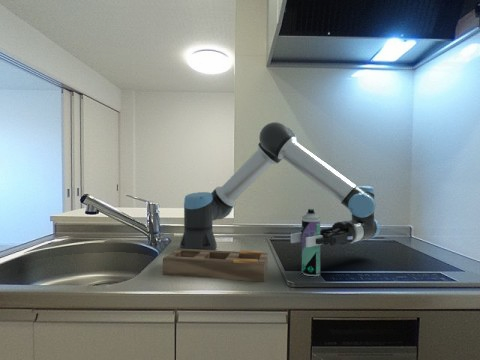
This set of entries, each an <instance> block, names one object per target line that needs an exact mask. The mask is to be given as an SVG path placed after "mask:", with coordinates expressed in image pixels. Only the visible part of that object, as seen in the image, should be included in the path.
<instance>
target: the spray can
mask: <svg viewBox="0 0 480 360" xmlns="http://www.w3.org/2000/svg"><path fill="white" fill-rule="evenodd" d="M320 218H321V216H319V215H318V214H317V213H316V212H315V209H314V208H308V209H307V212H306V213H305V214H304V215H303V216H302V219H301V230H302V242H301V274H302V273H303V274H304V275H307V276H318V277H320V276H321V245H317V246H312V247H306V237H312V236H318V235H320V228H321V219H320ZM303 274H302V275H303ZM304 275H303V276H304ZM319 275H320V276H319ZM307 276H306V277H307Z"/></svg>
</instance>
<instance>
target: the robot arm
mask: <svg viewBox="0 0 480 360" xmlns="http://www.w3.org/2000/svg"><path fill="white" fill-rule="evenodd" d="M258 138H259V142H258V143H257V149H256V151H255V152H254V153H253V154H252V155H251V156H250V157H249V158H248V159H247V160H246V161H245V162H244V163H243V164H242V165H241V166H240V168H239V169H237V170H236V171H235V173H233V175H232V176H230V178H228V180H227V181H226V182H225V183H223V185H222V186H217V187H215V188H214V189H213V191H212V192H208V191H203V192H200V191H199V192H193V193H188V194H186V195H185V196H184V200H183V211H184V212H183V218H184V219H183V221H184V222H183V224H184V225H183V226H184V227H183V228H184V229H183V234H182V237H181V240H180V244H179V249H197V250H215V249H216V248H218V247H217V246H218V245H217V240H216V237H215V234H214V230H213V222H214V221H216V220H217V221H218V220H222V219H224V218H226V217H228V216H229V215H230V213H232V210H233V208H234V207H235V206H236V200H237V199H238V198H239V197H241V196H242V194H243V193H244V192H245V191H246V190H247V189H248V188H249V187H250V186H251V185H252V184H253V183H254V182H256V180H258V178H260V176H261V175H263V174H264V172H265V171H267V170H268V169H269V168H270V166H271V165H275V164H277V165H278V164H279V163H280V162H281V161H282V160H283V161H286V162H287V163H288V164H289V165H291V166H292V167H294V169H296V170H298V171H299V173H301V174H302V175H304V176H305V177H306V178H308V179H309V180H310V181H312V183H314V184H316V185H317V186H318V187H319V188H321V189H322V190H323V191H324V192H326V193H327V194H329V195H330V196H331V197H333V198H334V199H335V200H337V201H338V202H339V203H340V204H341V205H342V206H344V207H345V208H346V209H348V210H349V211H350V213H351V219H349V220H343V221H337V222H335V223H334V224H333V225H332V226H330V227H326V228H322V227H320V235H318V236H312V237H306V247H312V246H317V245H320V246H321V245H330V246H336V245H347V244H351V245H352V244H354V243H355V242H360V241H365V240H367V241H368V240H371V239H373V238H375V237H377V236H378V235H379V233H380V231H381V228H380V227H381V226H380V225H379V222H378V221H377V220H376V219H375V210H376V201H375V188H374V187H373V186H369V185H368V186H366V185H364V186H363V185H359V186H358V185H356V184H355V183H353V182H352V181H350V180H349V179H348V178H346V177H345V176H344V175H342V174H341V173H340V172H339V171H337V170H336V169H334V168H333V167H332V166H330V165H329V164H327V163H326V162H325V161H323V160H322V159H320V158H319V157H317V156H316V155H315V154H314V153H313V152H311V151H310V150H308V149H307V148H305V147H304V146H303V145H301V144H300V143H299V142H298V139H297V138H298V137H297V135H296V134H295V132H294V131H293V130H292V129H291V128H290V127H287V126H285V124H282V123H280V122H270V123H267V124H266V125H264V127H263V128H262V129H261V130H260V133H259V137H258ZM296 243H302V229H301V230H300V232H296V233H290V244H296ZM216 250H217V249H216Z"/></svg>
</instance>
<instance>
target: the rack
mask: <svg viewBox="0 0 480 360" xmlns="http://www.w3.org/2000/svg"><path fill="white" fill-rule="evenodd" d="M268 269H269V253H268V252H263V251H262V250H243V249H240V251H235V250H217V249H216V250H197V249H180V248H177V249H176V250H174V251H172V252H171V253H169V254H167V255H165V256H164V257H163V258H162V275H164V276H176V277H178V276H179V277H189V278H190V277H191V278H203V279H205V278H207V279H221V280H233V281H245V282H246V281H247V282H249V281H250V282H262V283H263V282H265V280H266V277H267V273H268Z"/></svg>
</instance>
